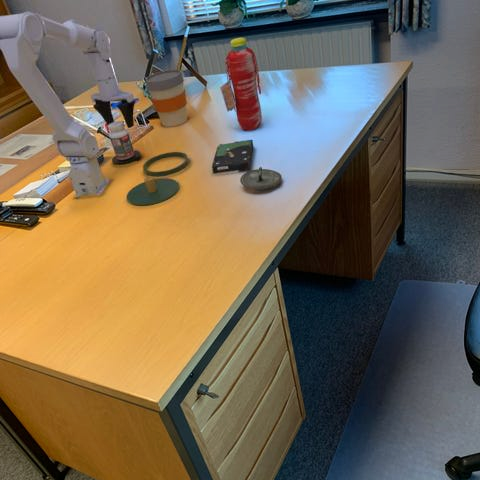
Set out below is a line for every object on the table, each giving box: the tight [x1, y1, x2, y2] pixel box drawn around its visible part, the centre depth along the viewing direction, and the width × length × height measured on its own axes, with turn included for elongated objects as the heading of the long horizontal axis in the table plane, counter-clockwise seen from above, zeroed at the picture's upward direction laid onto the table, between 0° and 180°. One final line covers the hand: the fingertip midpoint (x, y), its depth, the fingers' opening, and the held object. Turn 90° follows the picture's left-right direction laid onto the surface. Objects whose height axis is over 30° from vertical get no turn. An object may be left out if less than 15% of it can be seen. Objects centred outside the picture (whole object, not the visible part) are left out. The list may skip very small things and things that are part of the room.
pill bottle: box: [107, 120, 135, 160], centre depth 145 cm, size 6×6×10 cm
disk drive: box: [211, 139, 255, 174], centre depth 135 cm, size 10×3×15 cm
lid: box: [239, 166, 283, 190], centre depth 121 cm, size 11×10×5 cm
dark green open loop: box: [142, 151, 190, 178], centre depth 139 cm, size 13×13×2 cm
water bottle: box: [220, 37, 263, 131], centre depth 145 cm, size 12×8×25 cm, turn 90°
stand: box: [111, 149, 142, 166], centre depth 149 cm, size 9×9×1 cm
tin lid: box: [126, 176, 180, 207], centre depth 127 cm, size 14×14×5 cm
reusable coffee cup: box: [145, 69, 188, 128], centre depth 164 cm, size 13×13×15 cm
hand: (121, 126), depth 144 cm, fingers open, 7 cm apart
